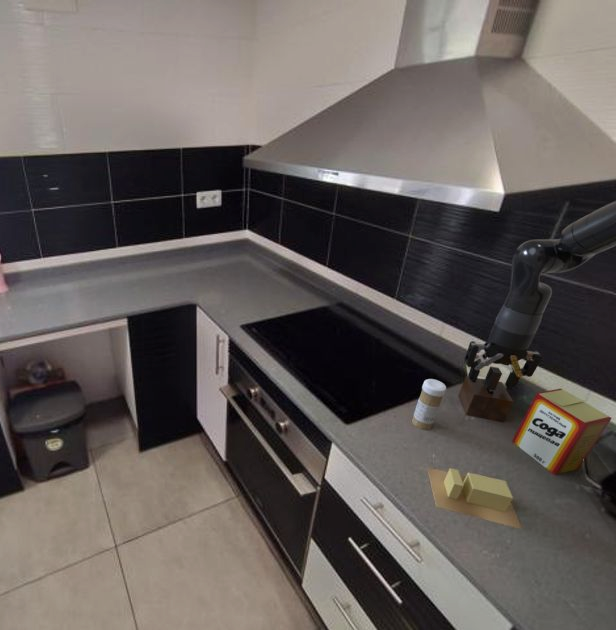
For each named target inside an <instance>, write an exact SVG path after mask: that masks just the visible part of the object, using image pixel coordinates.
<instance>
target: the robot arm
mask: <svg viewBox="0 0 616 630" xmlns="http://www.w3.org/2000/svg"><path fill="white" fill-rule="evenodd" d="M559 236H560V237H559V238H558V239H554V238H553V239H530V240H527V241H525V242H523V243H521V244H520V245H519V246H518V247H517V248H516V250H515V251H514V253H513V255H512V259H511V274H510V287H509V290H508V293H507V295H506V298H505V300H504V302H503V305H502V306H501V308H500V310H499V311H498V313H497V316H496V317H495V321H494V323H493V325H492V328H491V330H490V333H489V335H488V338H487V341H486V342H485V343H476V341H474V340H471V341H470V342H469V344H468V347H467V350H466V353H465V357H464V363H465V365H466V366H467V367H468V368H470V369H469V372H468V374H467V376H468V377H469V379H470V380H471V382H474V383H475V382H476V380H477V378H479V375H480V372H481V370H483V368H485V367H488V366H489V367H490V365H492V364H493V365H494V364H496V365H504V366H508V367H510V368H511V371H510V372H509V374H508V376H507V378H506V380H505V383H504V386H505V388H506V389H508V390H512V389H513V388H516V386H517V385H518V383H519V380H520V378H522V377H527V378H530V377H533V375H534V374H535V372H536V370H537V368H538V366H539V364H540V363H541V361H542V359H543V357H542V355H541V354H540V353H539V351H538V350H528V349H529V348H530V346H531V344H532V341H533V339H534V337H535V335H536V333H537V332H538V329H539V328H540V327H539V326H540V325H541V322H542V318H543V314H544V312H545V310H546V308H547V306H548V304H549V302H550V299H551V297H552V294H553V289H552V287H551V286H550V285H548V284H547V283H544V282H541V281H540V278H541V275H542V274H562V273H566V272H570V271H572V270H575V269H576V268H579V267H580V266H582V265H583V264H585V263H586V262H588V261H589V260H590V259H592V258H593V257H594V256H595V255H597V254H599V253H603V252H604V251H607V250H609V249H612V248H614V247H616V200H614V201H613V202H610V203H608V204H605V205H604V206H602V207H600V208H598V209H595V210H594V211H592V212H590V213H589V214H586V215H585V216H583V217H581V218H579V219H577V220H575V221H573V222H572V223H570V224H569V225H567V226H566V227H565V228H564V229H562V231H561V233H560V235H559ZM482 350H483V351H484V352H483V353H481V354H480V352H481V351H482ZM477 354H480V355H479V356H478V358H476V357H477ZM525 358H526V361H525V363H524V365H523V367H521V366H520V364H519V361H522V359H525Z"/></svg>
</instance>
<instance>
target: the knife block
mask: <svg viewBox="0 0 616 630" xmlns="http://www.w3.org/2000/svg"><path fill="white" fill-rule="evenodd" d="M484 380H485V378H479V377H478V378H477V380H476V382H475V383H474V382H471V380H470V379H469V377H468V375H465V377H464V379H463V382H462V385H461V387H460V389H459V391H458V395H457V398H458V399H459V402H460V404H461V407H462V409H463V411H464V414H465V416H469V417H474V418H480V419H485V420H490V421H495V422H500V423H504V421H505V419H506V417H507V415H508V413H509V411H510V409H511V407H512V405H513V403H514V400H513V399H512V397H511V395H510V394H509V392H508V390H507V388H506V386H505V384H503V381H499V382H498V384H497V387H496V389H495V390H492V393H491V394H490V393H488V392H487V390H486V388H485V385H484Z"/></svg>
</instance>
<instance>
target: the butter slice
mask: <svg viewBox="0 0 616 630" xmlns="http://www.w3.org/2000/svg"><path fill="white" fill-rule="evenodd" d="M447 472H448V473H447V475H446V478H445V480H444V484H445V487H446V491H447V495H448V498H452V499H456V500H457V499H458V497H459V495H460V493H461V491H462V488H463V483H462V479H461V476H460V475H461V474H460V470H458V469H455V468H451V467H449V468H448V471H447Z"/></svg>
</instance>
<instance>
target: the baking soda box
mask: <svg viewBox="0 0 616 630" xmlns="http://www.w3.org/2000/svg"><path fill="white" fill-rule="evenodd" d="M610 421H612V417H611V416H609V415H608V414H606V413H604V412H602V411H601V410H598V409H597V408H596V407H593V406H592V405H591V404H588V403H587V402H585V401H584V400H583V399H581V398H579V397H578V396H576V395H574V394H572V393H570V392H568V391H566V390H564V389H563V388H557V389H556V388H555V389H551V390H544V391H540V392H536V394H535V395H534V398H533V399H532V401H531V403H530V405H529V407H528V409H527V411H526V413H525V414H524V417H523V419H522V420H521V422H520V424H519V427H518V429H517V430H516V433H515V434H514V437H513V439H512V440H511V442H512V443H513V444H514V445H516V446H517V447H518V448H519V449H520V450H522V451H523V452H525V453H526V454H528V455H529V456H530V457H531V458H532V459H534V460H535V461H536V462H538V463H539V464H540V465H541V466H542V467H544V468H545V469H546V470H548V471H549V472H550V473H552V474H553V475H555V476H556V475H559V474H564V473H569V472H572V471H577V470H579V469H580V468H581V467H582V465H583V463H584V462H583V459H585V460H586V459H587V457H588V456H589V454H590V452H591V451H592V449H593V448H594V447H595V445H596V443H597V442H598V440H600V439H599V438H600V437H601V436H602V434H603V433H604V431H605V430H606V428H607V427H608V425H609V423H610Z"/></svg>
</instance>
